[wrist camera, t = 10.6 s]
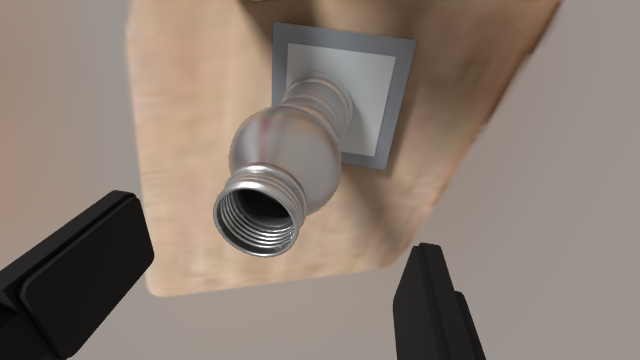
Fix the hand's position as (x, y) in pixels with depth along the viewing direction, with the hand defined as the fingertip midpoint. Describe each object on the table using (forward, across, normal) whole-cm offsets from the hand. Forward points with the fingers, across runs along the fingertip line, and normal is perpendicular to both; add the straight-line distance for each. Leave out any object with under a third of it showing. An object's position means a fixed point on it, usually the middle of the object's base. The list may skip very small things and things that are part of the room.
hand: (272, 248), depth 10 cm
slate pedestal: (+24, 0, +1) cm, 24 cm away
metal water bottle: (+22, +1, +1) cm, 22 cm away
